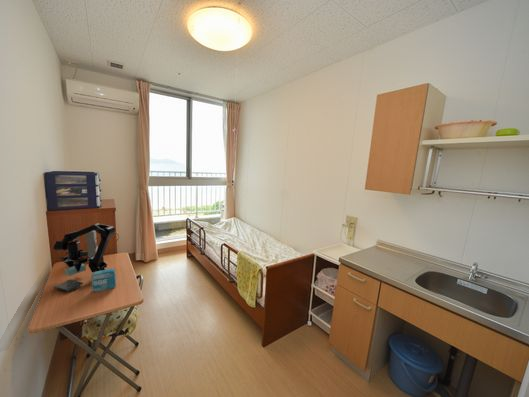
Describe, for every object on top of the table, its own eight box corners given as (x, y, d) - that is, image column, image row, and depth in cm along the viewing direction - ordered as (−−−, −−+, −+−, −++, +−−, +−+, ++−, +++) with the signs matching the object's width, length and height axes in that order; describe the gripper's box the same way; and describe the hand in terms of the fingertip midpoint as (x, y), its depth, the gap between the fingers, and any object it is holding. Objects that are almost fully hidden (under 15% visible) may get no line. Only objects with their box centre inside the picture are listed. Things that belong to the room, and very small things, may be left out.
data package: (92, 292, 137) (90, 275, 135) (94, 289, 141) (92, 272, 139) (115, 287, 143) (113, 270, 141) (116, 284, 147) (114, 267, 145)
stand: (83, 286, 145) (82, 282, 144) (67, 293, 136) (67, 289, 136) (70, 282, 149) (69, 279, 148) (54, 289, 140) (53, 286, 140)
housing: (86, 270, 157) (85, 265, 157) (68, 276, 148) (68, 270, 148) (82, 268, 159) (81, 263, 159) (65, 274, 151) (64, 269, 150)
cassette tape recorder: (97, 259, 187) (94, 231, 183) (88, 260, 184) (85, 232, 180) (99, 253, 199) (96, 227, 195) (90, 255, 195) (87, 228, 192)
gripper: (94, 247, 156) (96, 267, 159) (76, 244, 162) (79, 264, 164) (77, 253, 146) (79, 274, 148) (59, 249, 152) (61, 270, 154)
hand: (75, 270), depth 154 cm, fingers closed on housing, 5 cm apart
